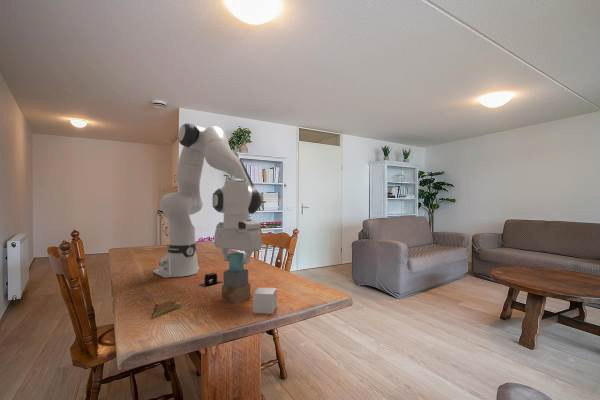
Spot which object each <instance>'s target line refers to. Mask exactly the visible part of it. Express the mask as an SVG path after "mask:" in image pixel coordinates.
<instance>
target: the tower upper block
mask: <svg viewBox="0 0 600 400" xmlns="http://www.w3.org/2000/svg"><path fill="white" fill-rule="evenodd" d="M248 283H249V270H248V269H245V268H244V271H242V272H229V269H227V270H223V285H224V286H227V287H232V288H239V287H241V286H244V285H246V284H248Z"/></svg>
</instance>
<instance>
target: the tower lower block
mask: <svg viewBox="0 0 600 400" xmlns="http://www.w3.org/2000/svg"><path fill="white" fill-rule="evenodd" d="M248 299H251V283H249V282H248V284H246V285H244V286H241V287H239V288H232V287H227V286H224V284H222V285H221V300H222V301H225V302H229V303H231V304H239V303H241V302H244V301H246V300H248Z"/></svg>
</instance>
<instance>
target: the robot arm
mask: <svg viewBox="0 0 600 400" xmlns="http://www.w3.org/2000/svg"><path fill="white" fill-rule="evenodd" d="M177 140H178V143H179V144H180V145H182V146H183V147H182V150H181V152H180V156H179V159H178V163H177V168H176V173H175V181H176V182H177V184H178V191H173V192H170V193H167V194H166V193H165V194H164V195H163V196H162V197H161V199H160V200H159V207H160V210H161V212H163V214H164V215H165V217H166V220H167V223H168V226H169V227H168V228H169V245H168V246H166V247H167V252H166V253H165V255H163V257H162V258H160V260H159V262H158V268H156V269H153V273H154V274H156V275H158V276H160V277H162V278H181V277H187V276H193V275H195V274H198V273H199V271H200V270H201V269H200V267H199V264H198V254H197V252H196V250H197V244H196V241H195V239H196V232H195V231H196V228H195V226H194V224H193V223H192V221H191V217H190V215H192V216H193V215H194V214H196V213H199V212H200V211H201V210H202V208H203V200H202V198H201V188H200V186H201V185H200V184H201V178H202V171H203V167H204V161H206V163H207V164H208V165H209V166H210V167H211V168H213V169H214V170H218V171H221V172H224V173H227V174H229V175H230V176H231V175H232V176H233V177H227V178H226V179H225V180H224V185H223V186H221V187H220V188H217V189H216V190H215V191H214V192H213V194H212V207H213V209H214V210H216V212H218V213H222V214H223V222H222V221H221V222H218V224H216V226H215V230H214V231H215V232H214V237H213V240H214V241H213V244H214V246H215V248H219V249H221V253H222V255H223V261H225V262H229V254H230V253H229V252H228V251H229V250H235V251H242V252H243V251H244V256H245V257H244V259H243V264H244V265H249V264H250V260H251V256H252V255H253V253H255V252H259V251H260V250H261V248H262V233H261V231H260V228H261V222H260V221H257V220H255V219H253V218H252V217H250V214H252V215H253V214H255V213H256V212H257V211H258V210H259V209H260V208H261V205H262V197H261V194H260V192H259V191H258V190H257V189H256V187H255V185H254V183H253V181H252V179H251V176H250V174H249V172H248V170H247V168H246V166H245V164H244V162H243V161H242V160H241V159H240V158H239V157H238V156H236V154H235V153H234V152H233V150H232V149H231V146H230V143H229V140H228V137H227V135H226V133H225V131H224V130H223V129H222V128H221V127H219V126H217V125H211V126H207V127H204V126H200V125H199V126H198V125H195V124H194V123H184V124H182V125H180V127H179V130H178V134H177Z"/></svg>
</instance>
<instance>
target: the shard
mask: <svg viewBox="0 0 600 400" xmlns="http://www.w3.org/2000/svg"><path fill="white" fill-rule="evenodd" d="M182 306H183V304H182V303H181V302H179V301H177V300H173V299H167V300H164V301H161V302H159V303H155V306H154V308H153V310H152V314H151V317H152V318H153V319H155V318H157V317H160V316H161V315H163V314H166V313H168V312H171V311H174V310H176V309H179V308H181V307H182ZM154 317H155V318H154Z"/></svg>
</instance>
